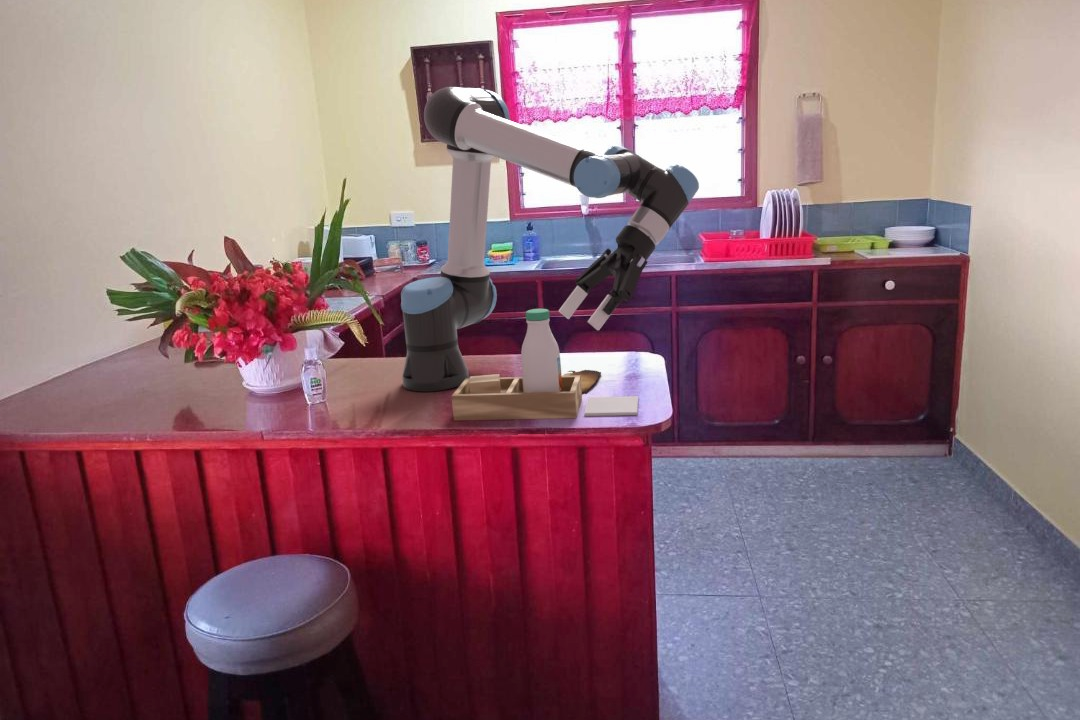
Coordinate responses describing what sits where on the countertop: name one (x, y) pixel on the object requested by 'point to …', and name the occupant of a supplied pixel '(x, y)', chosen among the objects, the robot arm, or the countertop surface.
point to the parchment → (585, 378)
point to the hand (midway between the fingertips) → (577, 320)
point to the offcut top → (485, 384)
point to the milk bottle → (540, 355)
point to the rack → (518, 401)
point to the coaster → (612, 406)
